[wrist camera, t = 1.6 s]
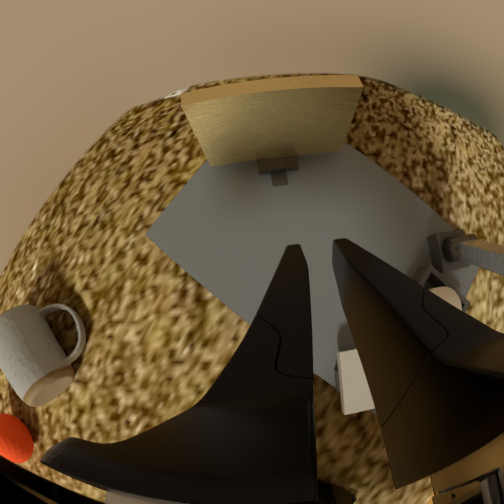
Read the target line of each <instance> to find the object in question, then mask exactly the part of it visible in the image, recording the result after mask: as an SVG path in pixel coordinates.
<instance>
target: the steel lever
mask: <svg viewBox="0 0 504 504" xmlns="http://www.w3.org/2000/svg"><path fill="white" fill-rule="evenodd" d="M442 251H443V255H444V258H445V259H446V261H448V262H454V261H459V260H461V261H464V262H466V263H469V264H472V265H475V266H478V267H481V268H483V269H486V270H489V271H491V272H494V273H497V274H499V275H502V276H504V246H501V245H497V244H493V243H489V242H485V241H480V240H478V239H477V237H476V236H475V235H474V234H465V235H459V236H452V237H446V238H445V239H444V241H443V244H442Z"/></svg>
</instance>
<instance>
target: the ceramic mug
mask: <svg viewBox="0 0 504 504" xmlns="http://www.w3.org/2000/svg"><path fill="white" fill-rule="evenodd" d="M57 310H66V311H68V312H69V313H70V314H71V316H72V317H73V319H74V321H75V323H76V331H77V332H78V342H77V345H76V348H75V349H74V350H73V351H72V353H71V354H70V355H69V356H68V357H67V356H66V354H65V353H64V351H63V349H62V348H61V346H60V345H59V343H58V342H57V340H56V338H55V336H54V334H53V332H52V330H51V328H50V327H49V325H48V323H47V321H46V319H45V316H46V315H47V314H49V313H51V312H53V311H57ZM85 343H86V331H85V326H84V324H83V322H82V320H81V318H80V316H79V315H78V314H77V313H76V312H75V311H74V310H73V309H72V308H70V307H69V306H67V305H64V304H51V305H47V306H45V307H43V308H41V309H39V308H38V307H36V306H34V305H29V304H26V305H19V306H16V307H13V308H11V309H9V310H7V311H5V312H4V313H2V314H1V315H0V367H1V369H2V371H3V372H4V374H5V376H6V377H7V379H8V381H9V383H10V384H11V386H12V387H13V389H14V390H15V392H16V393H17V395H18V396H19V397H20V398H21V399H22V400H23V401H24V402H25V403H26V404H27V405H29V406H32V407H38V406H41V405H44V404H46V403H48V402H50V401H51V400H53V399H54V398H56V397H57V396H59V395H60V394H61V393H62V392H63V391H64V390H65V389H66V388H67V387H68V386H69V385H70V384H71V382H72V380H73V377H74V370H73V368H72V366H71V363H72V362H73V361H75V360H76V359H77V358H78V357H79V355H80V354H81V352H82V351H83V348H84V346H85Z"/></svg>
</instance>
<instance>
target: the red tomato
mask: <svg viewBox="0 0 504 504" xmlns="http://www.w3.org/2000/svg"><path fill="white" fill-rule="evenodd" d="M33 448H34V444H33V439H32V436H31V433H30V432H29V430H28V428H27V427H26V426H25V425H24V424H23V423H22V422H21V421H20V420H19V419H18V418H16V417H14V416H12V415H9V414H0V455H2V456H3V457H5V458H7V459H8V460H10V461H12V462H14V463H23V462H25V461H27V460H28V459H29V458H30V457H31V455H32V453H33Z"/></svg>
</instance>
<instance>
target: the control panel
mask: <svg viewBox="0 0 504 504" xmlns="http://www.w3.org/2000/svg"><path fill="white" fill-rule="evenodd" d="M296 156H297V161H298V165H299V168H298V170H295V171H286V172H278V173H270V174H262V175H259V172H258V165H257V160H252V161H245V162H238V163H232V164H225V165H219V166H213V167H211V166H210V164H209V162H208V160H207V161H206V162H205V163H204V164H203V165H202V167H201V168H200V169H199V170H198V171H197V172H196V173H195V174H194V176H193V177H192V178H191V179H190V180H189V181H188V182H187V184H186V185H185V186H184V187H183V188H182V189H181V191H180V192H179V193H178V194H177V195H176V197H175V198H174V199H173V200H172V201H171V203H170V204H169V205H168V206H167V208H166V209H165V210H164V211H163V212H162V214H161V215H160V216H159V217H158V219H157V220H156V221H155V223H154V224H153V225H152V226H151V228H150V229H149V230H148V231H147V233H146V234H145V235H146V236H147V237H148V238H149V239H150V240H152V241H153V242H154V243H155V244H156V245H157V246H158V247H159V248H160V249H161V250H163V251H164V252H165V253H166V254H167V255H168V256H169V257H170V258H172V259H173V260H174V261H175V262H176V263H177V264H178V265H179V266H181V267H182V268H183V269H184V270H185V271H186V272H187V273H189V274H190V275H191V276H192V277H193V278H194V279H196V280H197V281H198V282H199V283H200V284H201V285H203V286H204V287H205V288H206V289H207V290H209V291H210V292H211V293H212V294H213V295H215V296H216V297H217V298H218V299H219V300H221V301H222V302H223V303H224V304H225V305H227V306H228V307H229V308H230V309H232V310H233V311H234V312H235V313H236V314H238V315H239V316H240V317H241V318H243V319H244V320H245V321H246V322H248V323H249V324H250V325H251V323H252V321H253V319H254V317H255V315H256V313H257V310H258V308H259V306H260V304H261V302H262V300H263V297H264V295H265V293H266V291H267V289H268V286H269V284H270V282H271V280H272V278H273V275H274V273H275V271H276V269H277V266H278V264H279V262H280V260H281V257H282V255H283V253H284V251H285V248H286V246H287V245H293V244H300V245H301V248H302V250H303V253H304V256H305V258H306V261H307V264H308V269H309V282H310V298H311V316H312V340H313V372H314V373H315V374H316V375H318V376H319V377H321V378H322V379H323V380H325V381H326V382H328V383H329V384H330V385H332V386H333V387H335V388H336V390H337V392H338V393H339V392H340V383H339V373H338V363H337V354H336V352H339V351H345V350H350V349H355V348H356V346H355V343H354V340H353V337H352V334H351V331H350V328H349V325H348V322H347V320H346V317H345V314H344V311H343V308H342V304H341V300H340V296H339V291H338V287H337V283H336V279H335V275H334V271H333V266H332V244H333V240H334V239H340V238H347V239H349V240H350V241H352V242H354V243H355V244H357V245H359V246H360V247H362V248H364V249H365V250H367V251H369V252H370V253H372V254H374V255H375V256H377V257H378V258H380V259H382V260H383V261H385V262H386V263H388V264H390V265H391V266H393V267H394V268H396V269H398V270H399V271H401V272H402V273H404V274H405V275H407V276H408V277H410V278H412V279H413V280H415V281H416V282H418V283H419V284H421V285H422V286H423V287H424V288H427V289H430V288H437V287H449V288H451V289H453V290H454V291H455V292H456V293H457V295H458V296H459V298H460V301H461V306H462V311H463V312H466V310H467V308H468V306H469V304H470V302H469V301H468V300H467V299H466V298H465V297H466V295H467V293H468V291H469V289H470V287H471V284H472V282H473V280H474V278H475V275H476V273H477V270H478V268H479V267H478V266H475V265H472V264H469V263H466V262H464V261H461V260H459V261H454V262H448V261H446V259H445V258H444V255H443V251H442V244H443V241H444V239H445V238H446V237H452V236H459V235H464V232H463V229H461V230H454V229H453V228H452V227H451V226H450V225H449V224H448V223H447V222H446V221H445V220H444V219H443V218H442V217H440V216H439V215H438V214H437V213H436V212H435V211H434V210H433V209H432V208H431V207H429V206H428V205H427V204H426V203H425V202H424V201H422V200H421V199H420V198H419V197H418V196H417V195H415V194H414V193H413V192H412V191H411V190H409V189H408V188H407V187H406V186H404V185H403V184H402V183H401V182H399V181H398V180H397V179H396V178H394V177H393V176H392V175H391V174H389V173H388V172H387V171H385V170H384V169H383V168H381V167H380V166H379V165H377V164H376V163H374V162H373V161H372V160H370V159H369V158H367V157H366V156H365V155H363V154H362V153H360V152H359V151H357V150H356V149H355V148H353V147H352V146H350V145H349V144H347V143H346V142H344V144H343V146H342V149H341V152H327V153H314V154H303V155H296ZM424 288H423V289H424ZM369 411H370V412H372V413H373V414H375V415H376V416H377V413H376V410H375V408H374V409H370V410H369Z"/></svg>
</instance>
